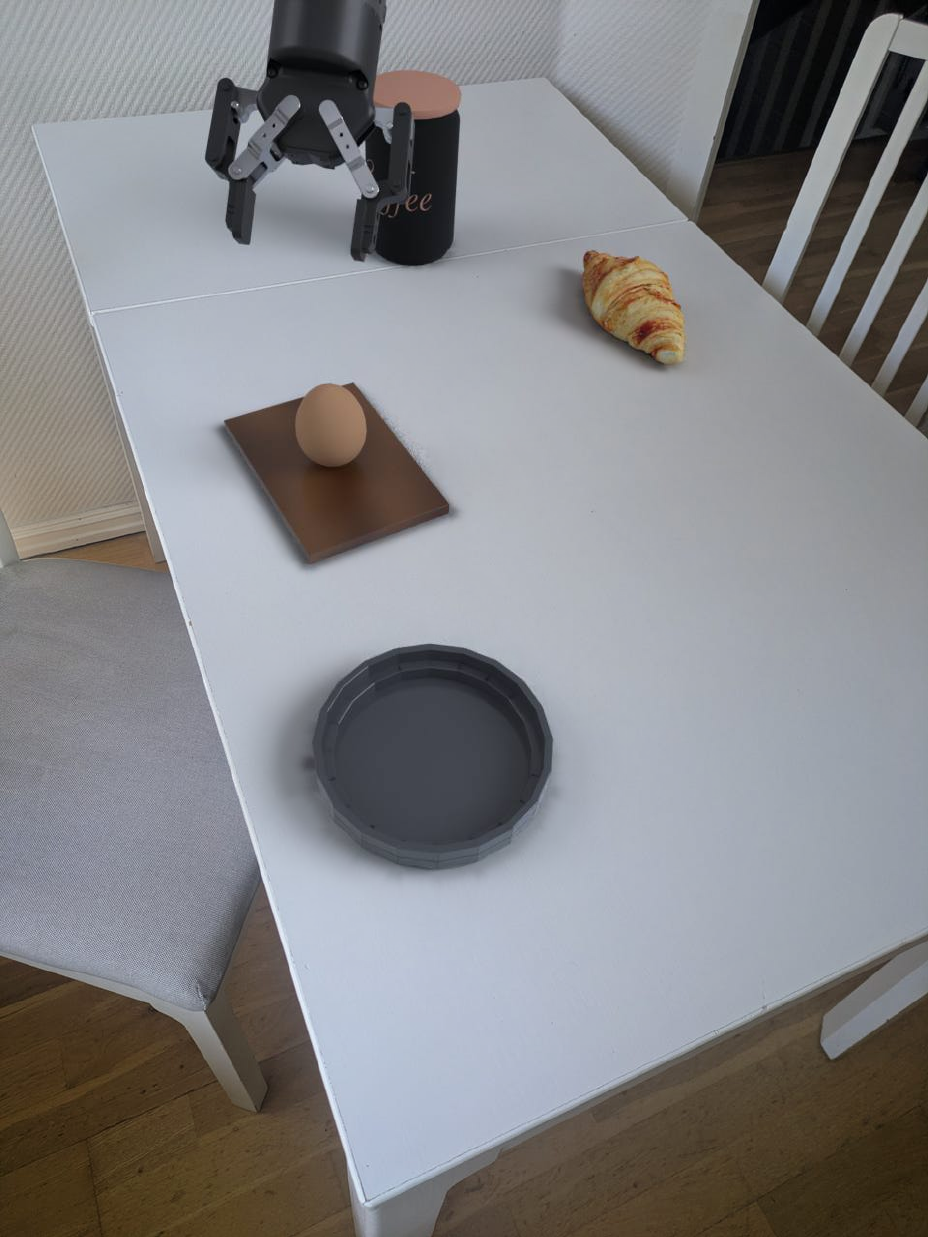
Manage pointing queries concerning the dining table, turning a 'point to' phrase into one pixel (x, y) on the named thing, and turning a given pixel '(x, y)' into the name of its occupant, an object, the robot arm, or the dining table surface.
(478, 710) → the pan
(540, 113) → the dining table surface
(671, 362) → the croissant
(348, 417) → the egg
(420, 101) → the coffee jar
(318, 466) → the board
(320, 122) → the robot arm
